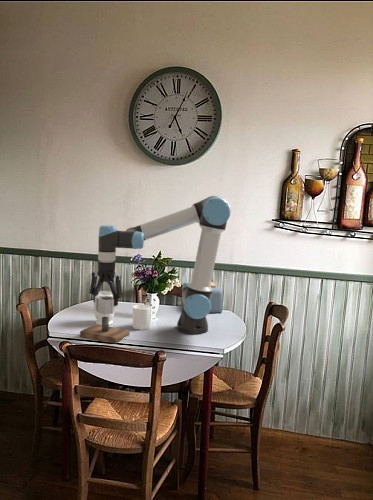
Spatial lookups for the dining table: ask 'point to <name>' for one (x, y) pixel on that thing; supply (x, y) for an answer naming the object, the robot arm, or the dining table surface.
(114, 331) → the post block
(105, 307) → the hub
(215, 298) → the toaster
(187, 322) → the robot arm
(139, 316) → the cup
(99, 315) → the jar
